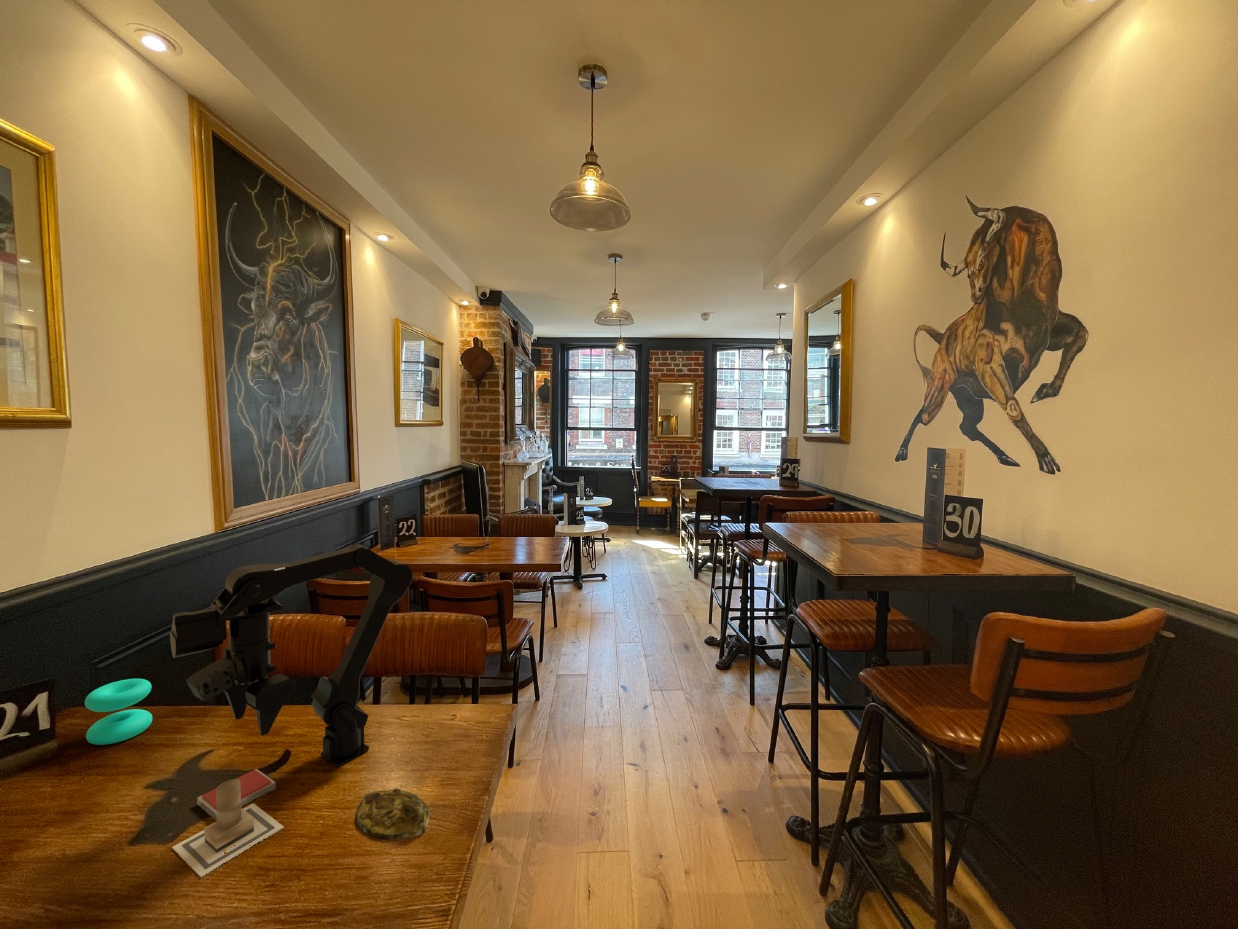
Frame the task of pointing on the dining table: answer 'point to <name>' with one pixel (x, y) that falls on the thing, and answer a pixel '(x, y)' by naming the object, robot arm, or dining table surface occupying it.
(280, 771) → the dining table surface
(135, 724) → the donuts
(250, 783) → the ink pad
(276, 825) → the card
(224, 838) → the stamp
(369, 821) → the olive brown oval relief
